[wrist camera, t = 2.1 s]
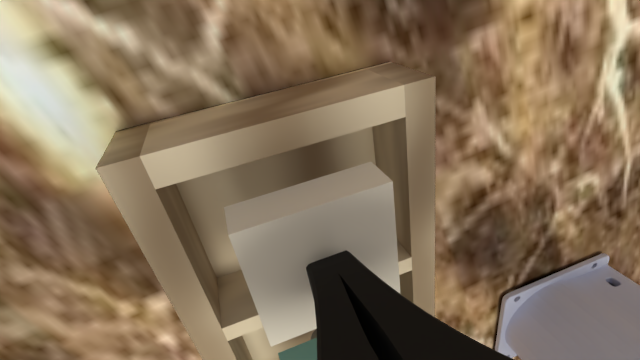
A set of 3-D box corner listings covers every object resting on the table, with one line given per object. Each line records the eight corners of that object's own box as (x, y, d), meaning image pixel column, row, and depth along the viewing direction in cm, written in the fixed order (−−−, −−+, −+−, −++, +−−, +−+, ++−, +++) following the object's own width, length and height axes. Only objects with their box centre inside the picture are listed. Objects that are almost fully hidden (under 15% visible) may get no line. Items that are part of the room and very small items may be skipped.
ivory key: (351, 143, 13) (393, 181, 11) (364, 244, 16) (400, 295, 13) (220, 182, 12) (228, 234, 10) (256, 282, 15) (270, 346, 12)
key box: (390, 61, 15) (435, 76, 12) (410, 381, 27) (434, 425, 24) (115, 131, 13) (95, 167, 10) (271, 444, 25) (280, 499, 22)
